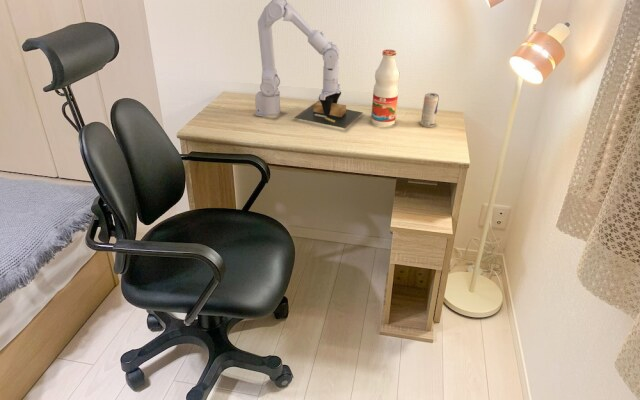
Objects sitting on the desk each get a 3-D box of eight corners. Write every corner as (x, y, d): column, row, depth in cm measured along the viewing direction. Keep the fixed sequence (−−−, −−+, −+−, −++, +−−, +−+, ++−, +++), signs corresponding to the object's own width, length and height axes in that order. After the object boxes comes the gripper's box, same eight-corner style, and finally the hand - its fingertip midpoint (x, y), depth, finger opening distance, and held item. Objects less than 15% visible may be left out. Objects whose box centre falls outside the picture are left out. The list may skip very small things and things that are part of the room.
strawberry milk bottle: (398, 121, 190) (405, 49, 175) (390, 129, 182) (398, 56, 167) (375, 117, 193) (381, 46, 178) (367, 125, 186) (372, 52, 171)
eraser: (313, 114, 191) (313, 104, 189) (318, 109, 195) (319, 100, 193) (340, 119, 187) (341, 109, 185) (345, 115, 191) (346, 105, 189)
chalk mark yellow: (324, 118, 188) (324, 117, 188) (326, 117, 188) (326, 117, 188) (333, 122, 185) (333, 121, 185) (335, 121, 185) (335, 120, 185)
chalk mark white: (314, 115, 190) (314, 114, 190) (315, 114, 191) (315, 113, 191) (325, 117, 189) (325, 116, 188) (326, 116, 189) (326, 115, 189)
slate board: (294, 120, 189) (294, 117, 188) (314, 105, 202) (314, 103, 202) (345, 131, 181) (345, 128, 180) (363, 115, 194) (363, 112, 194)
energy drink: (436, 123, 188) (440, 94, 182) (432, 128, 184) (437, 98, 178) (422, 121, 190) (426, 91, 184) (419, 125, 186) (423, 96, 179)
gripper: (332, 85, 176) (331, 119, 184) (347, 74, 187) (346, 107, 195) (314, 82, 179) (314, 116, 186) (331, 72, 190) (330, 104, 197)
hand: (329, 111), depth 191 cm, fingers closed on eraser, 5 cm apart
